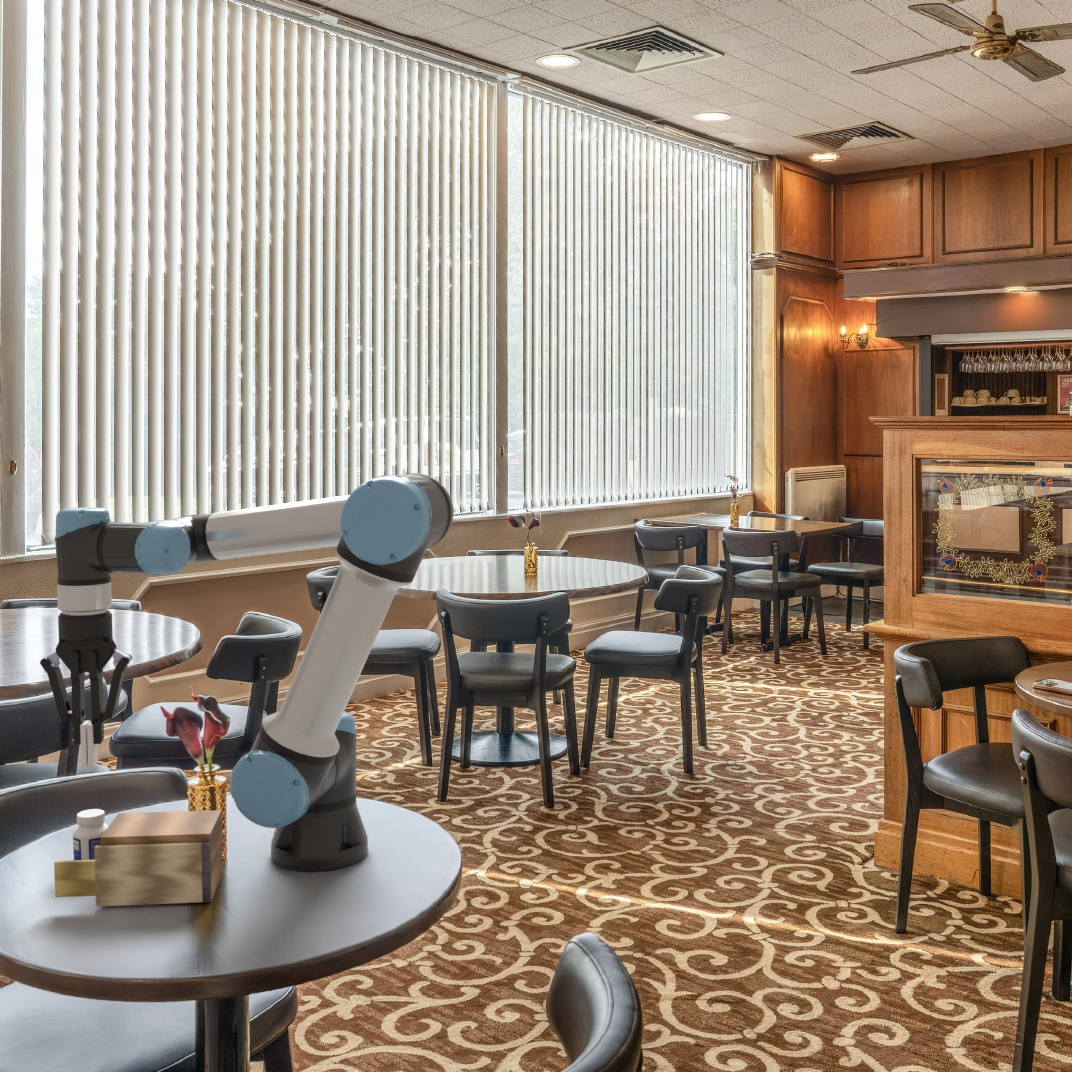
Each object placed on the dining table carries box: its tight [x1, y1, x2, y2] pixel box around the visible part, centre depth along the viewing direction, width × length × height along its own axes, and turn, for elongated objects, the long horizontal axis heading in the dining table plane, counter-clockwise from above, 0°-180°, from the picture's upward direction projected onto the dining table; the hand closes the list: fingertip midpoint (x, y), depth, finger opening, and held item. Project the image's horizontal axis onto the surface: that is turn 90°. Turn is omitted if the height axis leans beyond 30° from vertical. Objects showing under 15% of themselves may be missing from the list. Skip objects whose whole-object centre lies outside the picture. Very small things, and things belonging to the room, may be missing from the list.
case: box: [100, 809, 224, 903], centre depth 164 cm, size 15×10×10 cm
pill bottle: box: [72, 808, 109, 860], centre depth 171 cm, size 5×5×9 cm
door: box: [53, 841, 212, 907], centre depth 158 cm, size 21×1×8 cm, turn 97°
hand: (89, 764), depth 170 cm, fingers closed
